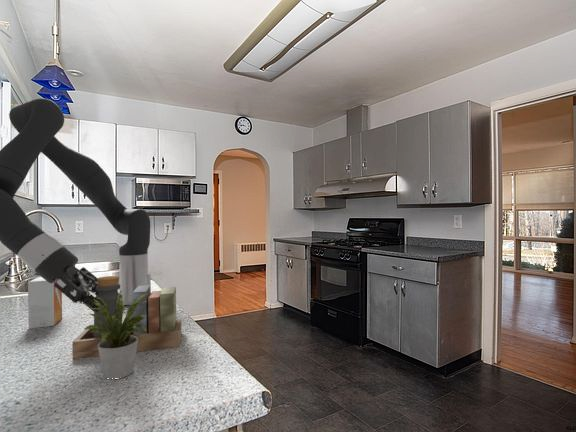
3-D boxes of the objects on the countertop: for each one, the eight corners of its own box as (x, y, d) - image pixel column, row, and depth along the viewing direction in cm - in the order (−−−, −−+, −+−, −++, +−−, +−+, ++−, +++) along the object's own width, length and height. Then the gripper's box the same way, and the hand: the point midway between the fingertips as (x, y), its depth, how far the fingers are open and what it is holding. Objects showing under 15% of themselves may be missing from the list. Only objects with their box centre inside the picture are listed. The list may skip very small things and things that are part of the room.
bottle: (93, 347, 76) (93, 280, 76) (94, 339, 81) (94, 276, 81) (122, 343, 78) (122, 278, 79) (121, 335, 83) (121, 274, 84)
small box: (54, 326, 95) (54, 280, 95) (27, 328, 93) (27, 281, 93) (63, 317, 103) (62, 275, 103) (38, 320, 101) (37, 277, 101)
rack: (72, 358, 73) (71, 297, 73) (87, 341, 83) (86, 288, 83) (179, 346, 79) (178, 290, 79) (181, 332, 88) (180, 282, 88)
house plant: (59, 403, 56) (57, 304, 56) (74, 368, 68) (73, 288, 68) (152, 384, 61) (151, 294, 61) (150, 355, 74) (149, 281, 74)
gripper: (48, 248, 70) (110, 299, 73) (73, 243, 84) (124, 286, 87) (19, 275, 69) (82, 326, 72) (48, 265, 82) (101, 308, 85)
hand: (105, 304), depth 79 cm, fingers open, 8 cm apart
